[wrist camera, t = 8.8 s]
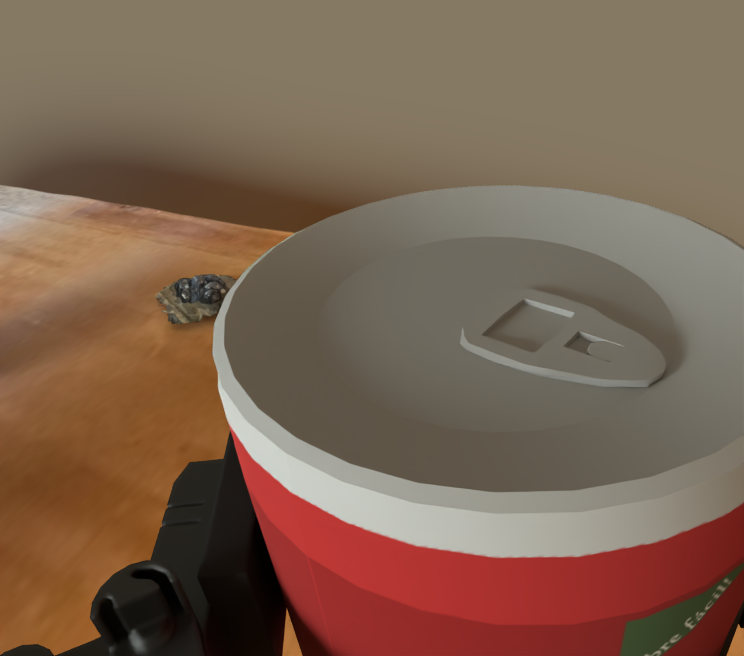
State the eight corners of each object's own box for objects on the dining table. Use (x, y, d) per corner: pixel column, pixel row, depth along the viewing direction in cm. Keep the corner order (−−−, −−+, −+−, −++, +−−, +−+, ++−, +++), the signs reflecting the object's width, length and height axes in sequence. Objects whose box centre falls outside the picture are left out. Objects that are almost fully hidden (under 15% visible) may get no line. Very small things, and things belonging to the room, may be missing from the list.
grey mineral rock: (195, 339, 43) (187, 315, 42) (126, 309, 47) (117, 287, 46) (266, 291, 47) (261, 269, 46) (197, 268, 52) (190, 247, 51)
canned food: (655, 1009, 11) (867, 647, 4) (259, 783, 14) (70, 399, 8) (694, 611, 16) (814, 200, 10) (403, 517, 19) (358, 168, 13)
